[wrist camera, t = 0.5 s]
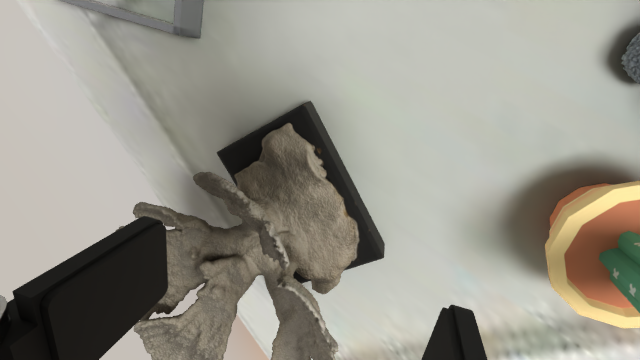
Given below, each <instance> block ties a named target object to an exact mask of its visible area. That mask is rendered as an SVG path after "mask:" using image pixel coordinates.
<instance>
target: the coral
mask: <svg viewBox="0 0 640 360" xmlns="http://www.w3.org/2000/svg"><path fill="white" fill-rule="evenodd" d="M217 154H218V156H219V158H220V160H221V161H222V163H223V164H224V166H225V168H226V169H227V171H228V173H229V174H230V176H231V178H232V179H233V181H234V183H235V184H236V186H237V188H236V187H235V186H234V184H232V183H231V182H229V181H227V180H225V179H223V178H221V177H219V176H217V175H215V174H213V173H211V172H206V173H205V172H200V173H198V174H196V175H195V176H194V177H193V179H194V181H195V183H196V184H197V185H199V186H200V187H201V188H202V189H204V190H206V191H207V192H209V193H211V194H212V195H214V196H217V197H219V198H222V199H223V200H224V201H225V204H226V205H227V207H228V210H229V212H230V213H231V214H233V215H237V216H239V217H240V218H242V219H243V223H242V224H241V225H239V226H235V227H232V228H229V229H223V228H221V227H213V226H211V225H209V224H208V223H207V222H206V221H204V220H202V219H199V218H197V217H194V216H187V215H184V214H181V213H177V212H176V211H173V210H172V209H170V208H166V207H162V206H157V205H152V204H148V203H145V202H140V203H138V204H136V205H135V207H134V210H133V214H134V215H135V217H136V218H140V217H142V216H148V217H152V218H155V219H158V220H161V221H162V222H163V223H164V226H172V227H174V226H175V229H172V230H166V242H167V269H168V289H167V292H166V294H165V295H164V297H163V298H162V299H161V300H160V301H159V302H158V303H157V304H156V305H155V306H154V307H153V308H151V309H150V310H149V311H148V312H147V313H146V314H145V315H144V316H143V317H142V318H141V319H140V321H138V322H137V323H136V324H135V326H134V332H136V333H138V334H139V335H140V338H141V339H142V340H143V343H144V347H145V349H146V351H147V353H149V354H151V357H152V360H223V354H224V353H225V351H226V346H227V340H228V337H229V335H230V332H231V327H232V323H233V321H234V319H235V317H236V313H237V303H238V301H239V299H240V298H241V297H242V296H243V294H244V293H245V292H246V291H247V290H248V288H249V287H250V286H251V285H252V283H253V281H254V280H255V278H256V276H258V275H264V277H265V283H266V286H267V289H268V291H269V294H270V296H271V298H272V299H273V305H274V307H275V309H276V315H277V317H278V319H279V321H280V324H279V328H278V332H277V336H276V338H275V339H274V341H273V343H272V344H273V347H272V350H273V352H272V358H271V360H311V358H312V359H313V360H335V357H334V354H336V353H335V352H338V344H337V342H336V341H335V340H334V338H333V337H332V336H331V335H330V334H329V332H328V329H327V328H326V327H325V321H324V320H323V318H322V316H321V314H320V309H319V306H318V303H317V301H316V300H315V298H314V297H313V295H312V294H311V293H310V292H309V291H308V290H307V289H306V288H305V287H303V285H302V284H301V283H304V282H308V281H311V282H312V289H313V290H315V291H316V292H318V293H321V294H326V293H328V292H329V291H330V290H331V289H333V288H334V287H335V286H337V284H338V283H339V281H340V278H341V274H342V272H343V271H344V270H347V269H350V268H354V267H357V266H360V265H363V264H366V263H370V262H373V261H376V260H379V259H382V258H384V245H385V244H384V242H383V240H382V238H381V236H380V234H379V232H378V230H377V228H376V226H375V224H374V222H373V220H372V218H371V216H370V215H369V212H368V210H367V208H366V207H365V205H364V203H363V201H362V199H361V197H360V195H359V193H358V191H357V189H356V187H355V185H354V183H353V181H352V179H351V177H350V175H349V174H348V172H347V170H346V168H345V166H344V164H343V162H342V160H341V158H340V156H339V154H338V152H337V150H336V148H335V146H334V144H333V142H332V140H331V139H330V137H329V135H328V133H327V131H326V129H325V127H324V125H323V123H322V121H321V119H320V117H319V115H318V113H317V111H316V109H315V107H314V105H313V104H312V102H311V101H310V102H307V103H305V104H303V105H301V106H299V107H297V108H296V109H294V110H292V111H290V112H288V113H287V114H285V115H283V116H281V117H279V118H278V119H276V120H274V121H272V122H271V123H269V124H267V125H265V126H263V127H261V128H260V129H258V130H256V131H254V132H252V133H251V134H249V135H247V136H245V137H243V138H242V139H240V140H238V141H236V142H234V143H233V144H231V145H229V146H227V147H225V148H224V149H222V150H220V151H218V152H217ZM123 227H124V226H121V227H120V228H119V229H121V228H123ZM119 229H118V230H119ZM118 230H116V231H118ZM116 231H115V232H116ZM203 283H205V285H204V287H202V288H201V289H200V290H199V291H198V292H197V294H196V295H197V296H198V299H197V300H196V302H195V303H194V304H192V305H191V306H190V307H189V308H188V310H186V311H185V312H184V313H183V314H180V315H178V316H173V317H163V318H160V317H159V318H156V319H149V317H150V316H151V315H152V313H154V312H156V313H157V314H160V313H163V312H164V313H165V314H170V313H171V312H172V311H173V310H174V309H175V308H176V306H177V305H178V303H179V302H180V301H183V299H184V297H185V296H186V295H187V294H188V293H189V291H190V290H193V289H196V288H197V287H198V286H199V285H200V284H203ZM310 356H311V357H310Z"/></svg>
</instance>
